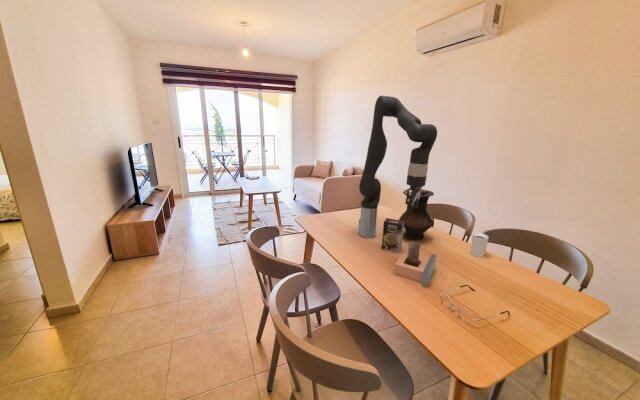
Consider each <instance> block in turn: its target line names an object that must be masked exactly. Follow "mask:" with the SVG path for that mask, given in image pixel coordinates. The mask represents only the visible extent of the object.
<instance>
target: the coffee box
mask: <svg viewBox="0 0 640 400" xmlns="http://www.w3.org/2000/svg"><path fill="white" fill-rule="evenodd" d="M404 222H405V221H401V220H399V219H394V218H388V217H387V218H385V220H384V221H383V226H382V227H383V229H382V236H381V237H382V240H381V250H385V251H389V252H394V253H400V252H401V250H402V247H403V239H404V238H403V237H404V231H405V228H404Z"/></svg>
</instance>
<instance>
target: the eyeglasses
mask: <svg viewBox="0 0 640 400" xmlns="http://www.w3.org/2000/svg"><path fill="white" fill-rule="evenodd" d="M463 287H468V288H469V289H470V290H471V291H473V292H476V290H475V289H474V288H473V287H471V286H470V285H468V284H464V285H461V286H458V287H455V288H452V289H449V290H447V291H445V292H442V293H439V295H440V297H441V301H442V303H443V305H446V304H445V302H444V299H443V295H446V297H448V300H450V306H448V305H447V308H448V309H452V308H454V307H457V308H456V310H457V312H458V316H459V317H460V318H461V319H462V320H464V317H463V316H462V314H461V311H462V309H465V310H466V311H467V312H468V313H469V314H470V316H471V321H468V320H467V321H466V323H468V324H469V323H472V322H475V323H476V322H478V321H481V320H482V321H483V320H485V319H488V318H491V317H496V316H498V315H503V314H508V315H509V314H510V311H509V310H505V311H502V312H499V313H497V314H492V315H488V316H486V317H482V318H478V319H474V318H473V315H472V313H471V311H470V310H469V309H468V308H466V307H464V306H463V307H460V306H458V305H456V304H455V303H454V302H453V301H452V299H451V298H450V296H449V295H448V293H449V292H452V291H454V290H455V291H456V289H459V288H460V289H461V288H463Z"/></svg>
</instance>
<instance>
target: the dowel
mask: <svg viewBox="0 0 640 400" xmlns="http://www.w3.org/2000/svg"><path fill="white" fill-rule="evenodd" d="M420 250H421V243H420V242H418V241H416V240H410V241H409V242H408V250H407V255H408V257H407V264H408V265H411V266H415V267H418V259H419V258H420V256H419V255H420Z"/></svg>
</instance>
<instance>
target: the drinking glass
mask: <svg viewBox="0 0 640 400" xmlns="http://www.w3.org/2000/svg"><path fill="white" fill-rule="evenodd" d="M488 242H489V236H488V235H487V234H484V233H479V232H475V233H472V238H471V245H470V246H471V247H470V254H471V255H472V256H474V257H478V258H483V257H485V253H486V250H487V249H486V248H487V246H488Z"/></svg>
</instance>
